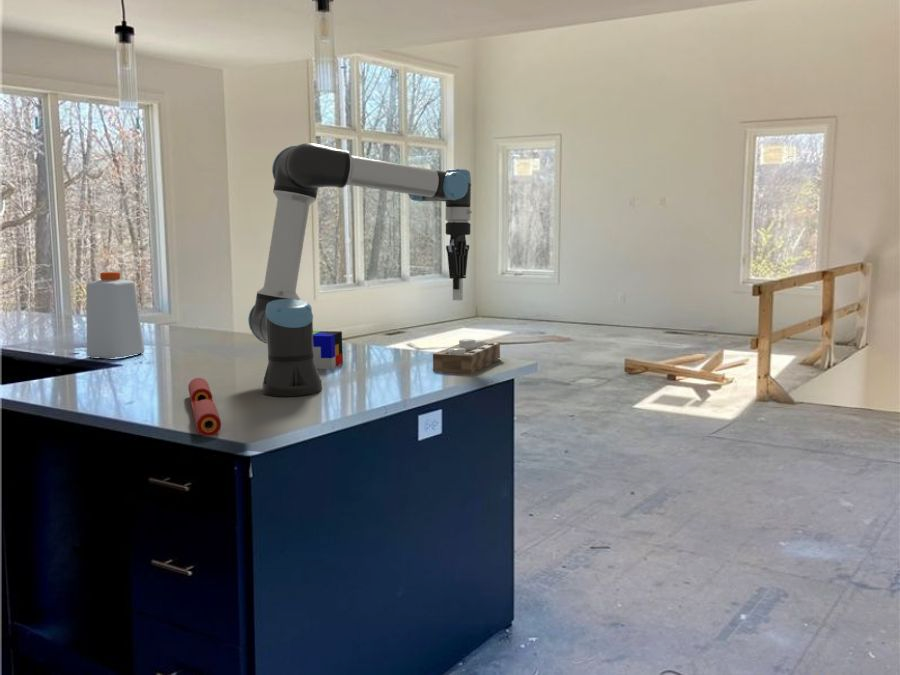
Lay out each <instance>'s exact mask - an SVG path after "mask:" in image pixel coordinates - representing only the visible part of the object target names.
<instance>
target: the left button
mask: <svg viewBox="0 0 900 675" xmlns="http://www.w3.org/2000/svg"><path fill="white" fill-rule="evenodd" d="M465 353H466V349H465V348H451V349H449V354H455V355H463V354H465Z"/></svg>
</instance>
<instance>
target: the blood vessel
mask: <svg viewBox="0 0 900 675" xmlns="http://www.w3.org/2000/svg"><path fill="white" fill-rule="evenodd" d="M188 393H189V394H188V395H189V399H190V402H191V403H190V404H191V408H192V413H193V418H194V421H195V422H194V423H195V426H196V430H197V432H198V433H199V434H200V435H201V436H203V437H204V436H205V437H206V436H215V435H217V434H218V433H219V432H220V430H221V428H222V422H221V418H220V415H219V412H218V409H217V406H216V404H215V402H214V400H213V394H212V392H211V388H210V385H209V383H208V381H207V380H206V379H205V378H202V377H196V378H193V379H191V381H190V382H189V384H188Z"/></svg>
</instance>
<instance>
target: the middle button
mask: <svg viewBox="0 0 900 675" xmlns="http://www.w3.org/2000/svg"><path fill="white" fill-rule="evenodd" d="M476 340H477V339H473V338H471V339H470V338H469V339H468V338H467V339H465V338H464V339H460V340H459V341H458V344H459V348H465V349H466V350H469V351H472V350H474V349H476Z"/></svg>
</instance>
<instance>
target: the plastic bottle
mask: <svg viewBox="0 0 900 675" xmlns="http://www.w3.org/2000/svg"><path fill="white" fill-rule="evenodd" d="M99 276H100V277H99V278H100V279H99V280H94V281H91V282H90V281H89V282H88V283H87V284H86V288H85V290H86V297H85V298H86V302H85V304H86V308H85V309H86V310H85V311H86V356H87V357H88V356H90V357H99V358H115V357H124V356H129V355H134V354H140V353H143V354H144V352H145V346H144V345H145V344H144V339H143V338H144V337H143V331H142V325H141V324H142V323H141V319H140V309H139V304H138V297H137V289H136V284H135V282H134V281H133V280H130V279H121V273H120V272H119V271H104V272H103V271H102V272H100V274H99Z"/></svg>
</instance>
